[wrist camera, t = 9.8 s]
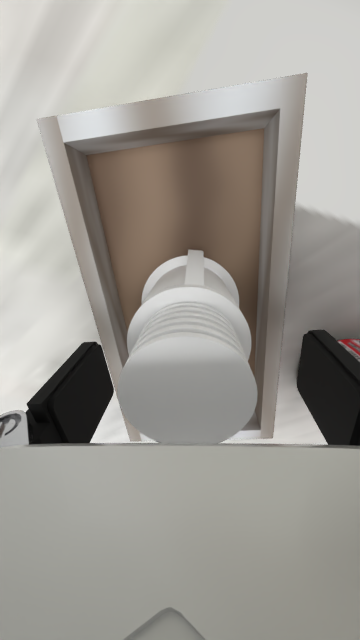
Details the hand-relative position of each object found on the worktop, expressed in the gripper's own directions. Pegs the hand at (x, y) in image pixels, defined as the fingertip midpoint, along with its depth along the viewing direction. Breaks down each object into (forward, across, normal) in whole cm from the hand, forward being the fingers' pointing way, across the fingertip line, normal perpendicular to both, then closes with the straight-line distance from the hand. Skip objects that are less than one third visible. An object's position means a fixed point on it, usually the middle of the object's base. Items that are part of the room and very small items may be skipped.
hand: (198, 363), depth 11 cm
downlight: (+7, +1, -1) cm, 7 cm away
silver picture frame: (+8, +1, 0) cm, 8 cm away
